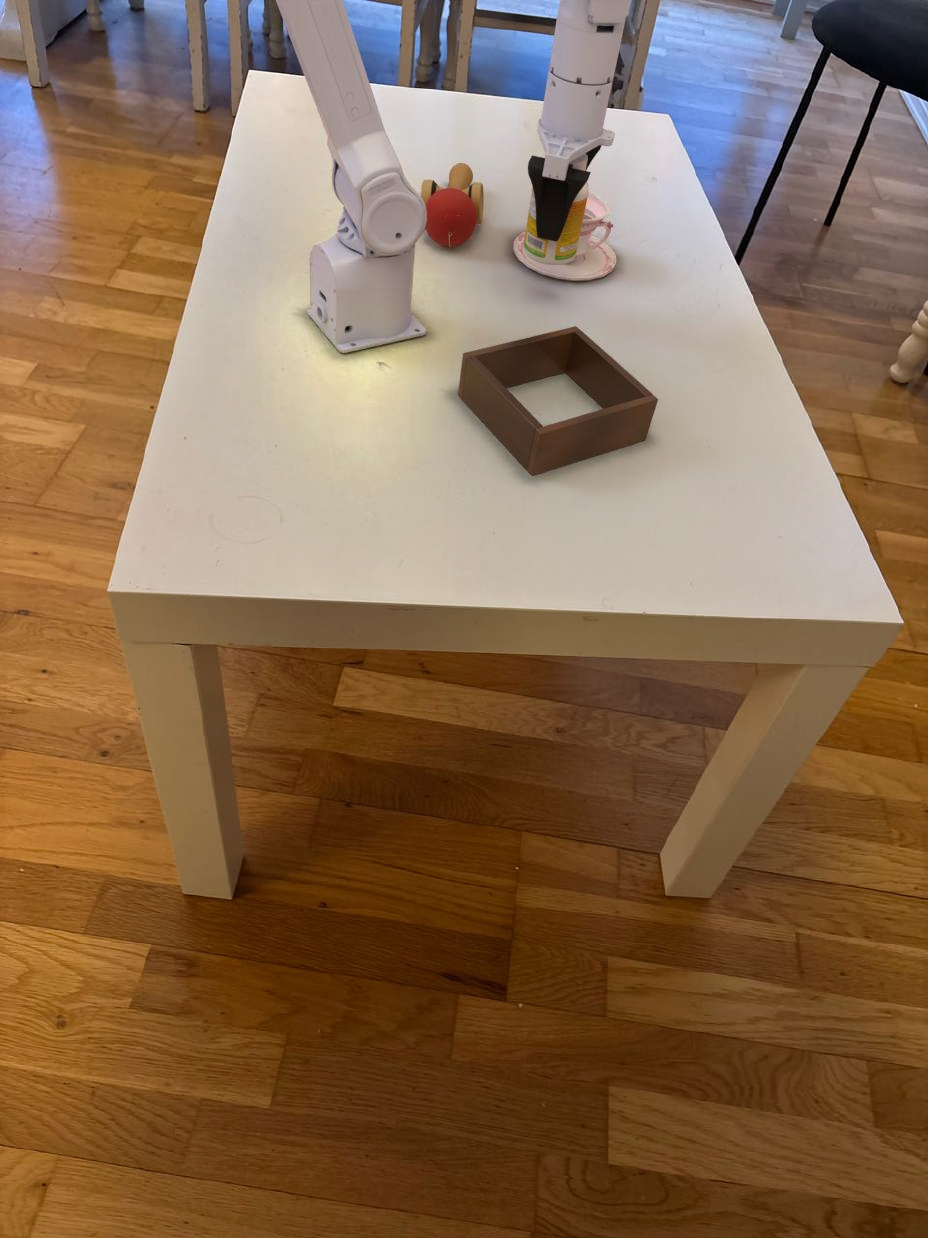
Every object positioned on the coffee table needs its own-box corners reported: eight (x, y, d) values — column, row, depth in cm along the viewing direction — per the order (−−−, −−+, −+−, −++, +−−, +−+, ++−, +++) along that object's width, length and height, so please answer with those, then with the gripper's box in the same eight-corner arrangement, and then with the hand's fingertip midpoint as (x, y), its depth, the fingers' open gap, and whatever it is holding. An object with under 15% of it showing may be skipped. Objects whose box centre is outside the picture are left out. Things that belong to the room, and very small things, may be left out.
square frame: (531, 476, 78) (540, 433, 75) (457, 395, 85) (462, 352, 81) (645, 440, 83) (658, 399, 80) (567, 366, 90) (576, 325, 86)
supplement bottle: (575, 244, 94) (595, 146, 87) (574, 270, 90) (595, 169, 83) (524, 237, 94) (539, 137, 87) (521, 261, 90) (537, 160, 83)
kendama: (421, 193, 114) (405, 240, 101) (435, 140, 110) (420, 182, 97) (480, 213, 115) (472, 263, 102) (496, 162, 111) (490, 206, 98)
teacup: (493, 258, 103) (501, 203, 98) (540, 221, 110) (549, 168, 105) (589, 294, 99) (602, 239, 95) (631, 253, 107) (644, 201, 102)
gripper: (614, 110, 75) (580, 267, 85) (635, 57, 84) (603, 203, 94) (530, 93, 75) (507, 250, 85) (561, 42, 85) (537, 189, 95)
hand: (553, 225), depth 90 cm, fingers closed on supplement bottle, 5 cm apart
